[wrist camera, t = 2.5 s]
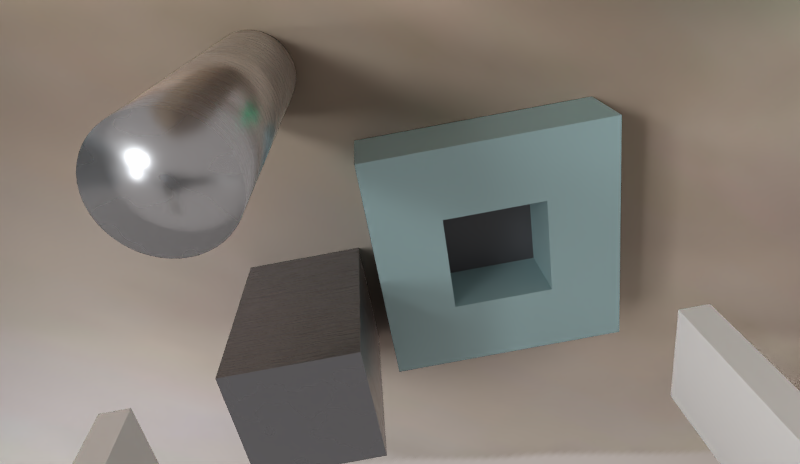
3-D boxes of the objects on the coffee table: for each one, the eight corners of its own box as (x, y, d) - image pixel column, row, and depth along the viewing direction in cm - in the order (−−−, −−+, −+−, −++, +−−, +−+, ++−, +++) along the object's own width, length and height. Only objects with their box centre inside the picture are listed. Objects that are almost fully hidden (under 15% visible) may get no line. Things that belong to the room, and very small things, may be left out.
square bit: (279, 353, 34) (256, 478, 26) (251, 267, 31) (215, 378, 23) (378, 334, 34) (386, 455, 26) (358, 247, 31) (360, 352, 23)
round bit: (224, 124, 27) (115, 270, 15) (196, 38, 26) (46, 123, 13) (305, 108, 27) (264, 243, 15) (283, 22, 25) (217, 92, 13)
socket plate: (395, 332, 34) (399, 371, 30) (354, 140, 28) (354, 164, 25) (594, 295, 33) (619, 331, 30) (592, 96, 28) (621, 115, 25)
